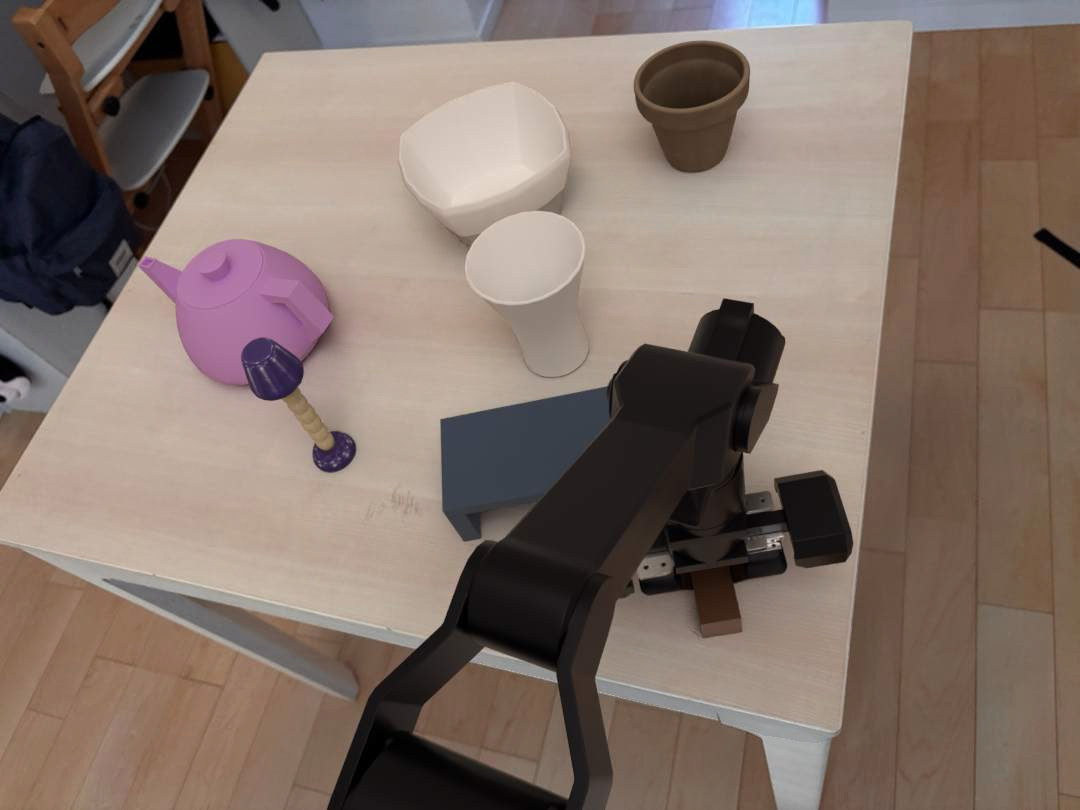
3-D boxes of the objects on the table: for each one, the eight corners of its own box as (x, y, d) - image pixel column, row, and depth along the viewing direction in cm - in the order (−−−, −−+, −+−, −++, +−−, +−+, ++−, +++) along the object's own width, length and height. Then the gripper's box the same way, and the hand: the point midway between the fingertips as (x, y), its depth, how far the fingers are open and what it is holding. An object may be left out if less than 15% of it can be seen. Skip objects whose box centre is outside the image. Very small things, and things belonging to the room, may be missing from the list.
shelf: (694, 501, 72) (689, 466, 67) (463, 541, 75) (442, 511, 70) (675, 411, 77) (669, 373, 72) (460, 452, 80) (440, 418, 75)
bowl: (459, 295, 90) (430, 232, 83) (406, 197, 101) (376, 133, 93) (609, 221, 92) (595, 152, 84) (542, 131, 102) (523, 63, 94)
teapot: (385, 295, 93) (339, 215, 83) (314, 415, 86) (255, 343, 76) (227, 265, 101) (169, 189, 91) (151, 372, 94) (79, 302, 84)
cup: (559, 414, 80) (526, 324, 69) (482, 362, 85) (439, 270, 74) (632, 337, 83) (611, 239, 72) (552, 292, 88) (521, 194, 77)
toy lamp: (353, 424, 84) (274, 318, 71) (368, 459, 82) (289, 356, 68) (309, 447, 84) (220, 345, 70) (323, 483, 81) (233, 385, 68)
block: (742, 632, 65) (741, 618, 63) (702, 638, 66) (700, 625, 63) (721, 536, 70) (719, 520, 67) (684, 542, 70) (681, 526, 68)
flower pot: (709, 102, 98) (703, 22, 90) (773, 151, 92) (774, 71, 84) (624, 151, 97) (611, 75, 89) (684, 205, 90) (675, 128, 82)
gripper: (815, 357, 58) (807, 469, 70) (542, 410, 60) (582, 509, 73) (865, 506, 51) (846, 599, 64) (557, 558, 54) (598, 638, 66)
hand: (711, 581), depth 67 cm, fingers closed on block, 3 cm apart
